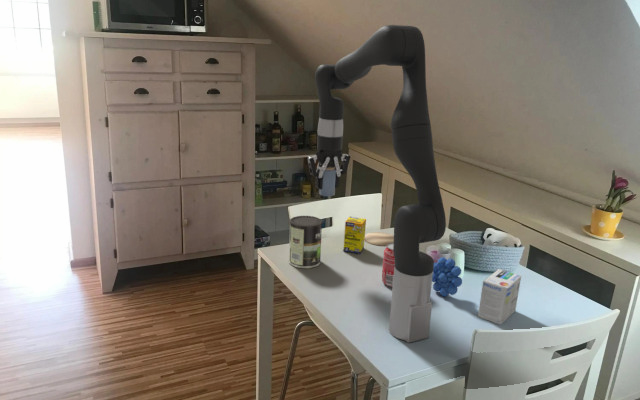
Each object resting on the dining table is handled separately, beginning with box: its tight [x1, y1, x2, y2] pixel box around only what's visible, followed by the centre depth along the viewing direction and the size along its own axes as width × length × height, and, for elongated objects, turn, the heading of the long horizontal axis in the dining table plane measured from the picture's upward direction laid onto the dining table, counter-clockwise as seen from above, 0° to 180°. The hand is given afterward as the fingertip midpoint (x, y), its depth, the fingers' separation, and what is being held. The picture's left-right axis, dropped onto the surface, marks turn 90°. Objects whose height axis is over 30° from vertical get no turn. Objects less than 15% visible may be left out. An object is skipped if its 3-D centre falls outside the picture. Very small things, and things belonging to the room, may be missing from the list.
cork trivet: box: [364, 231, 394, 247], centre depth 193 cm, size 12×12×1 cm
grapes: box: [432, 257, 463, 297], centre depth 151 cm, size 12×7×12 cm, turn 32°
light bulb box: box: [477, 268, 522, 326], centre depth 142 cm, size 11×7×11 cm, turn 141°
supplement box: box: [342, 216, 367, 255], centre depth 181 cm, size 6×6×11 cm
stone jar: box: [318, 167, 336, 197], centre depth 163 cm, size 5×5×9 cm
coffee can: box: [288, 215, 323, 269], centre depth 169 cm, size 10×10×14 cm
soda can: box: [381, 243, 395, 288], centre depth 157 cm, size 7×7×12 cm
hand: (327, 188), depth 164 cm, fingers closed on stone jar, 4 cm apart
